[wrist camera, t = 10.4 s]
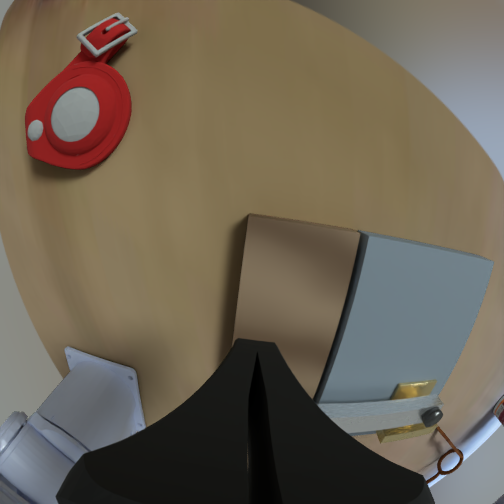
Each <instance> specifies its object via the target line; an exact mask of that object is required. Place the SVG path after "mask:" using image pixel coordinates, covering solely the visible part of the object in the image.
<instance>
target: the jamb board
mask: <svg viewBox="0 0 504 504" xmlns="http://www.w3.org/2000/svg"><path fill="white" fill-rule="evenodd" d="M359 238H360V233H359V232H357V231H355V230H353V229H348V228H342V227H336V226H330V225H324V224H318V223H312V222H306V221H299V220H293V219H286V218H279V217H272V216H265V215H258V214H251V213H250V214H249V217H248V225H247V232H246V240H245V247H244V255H243V263H242V270H241V278H240V286H239V294H238V302H237V310H236V318H235V326H234V334H233V342H232V346H233V344H234V342H235V340H236V339H238V338H242V339H250V340H258V341H266V342H275V344H276V345H277V346H278V348H279V350H280V352H281V354H282V356H283V358H284V359H285V361H286V363H287V365H288V366H289V368H290V369H291V371H292V372H293V374H294V375H295V377H296V378H297V380H298V381H299V383H300V384H301V386H302V387H303V388H304V390H305V391H306V392H307V393H308V395H309V396H310V397H311V398H312V400H313V397H314V395H315V392H316V390H317V387H318V384H319V381H320V379H321V376H322V373H323V370H324V367H325V364H326V361H327V358H328V355H329V352H330V349H331V346H332V343H333V340H334V337H335V333H336V330H337V327H338V323H339V320H340V316H341V313H342V309H343V306H344V302H345V298H346V294H347V291H348V287H349V283H350V279H351V274H352V270H353V266H354V262H355V257H356V252H357V248H358V243H359Z"/></svg>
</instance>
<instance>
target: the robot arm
mask: <svg viewBox="0 0 504 504" xmlns="http://www.w3.org/2000/svg"><path fill="white" fill-rule="evenodd" d="M65 354H66V358H67V361H68V365H69V368H70V372H69V373H68V374H67V376H66V377H65V378H64V379H63V380H62V381H61V382H60V384H59V385H58V386H57V387H56V388H55V389H54V391H53V392H52V393H51V394H50V395H49V396H48V398H47V399H46V400H45V401H44V402H43V403H42V405H41V406H40V407H39V408H38V409H37V411H36V412H35V413H33V414H32V415H31V416H30V417H29V418H28V419H27V417H28V416H27V415H26V414H25V413H24V412H21V413H20V412H17V411H14V412H13V413H12V414H11V415H10V416H9V417H8V419H7V420H6V421H5V422H4V423H3V424H2V425H1V427H0V504H435V502H434V499H433V497H432V494H431V492H430V489H429V487H428V485H427V483H426V480H425V479H424V477H423V475H421V474H418V473H416V472H413V471H411V470H409V469H406V468H404V467H402V466H399V465H397V464H395V463H393V462H391V461H389V460H387V459H385V458H384V457H382V456H380V455H378V454H377V453H375V452H373V451H372V450H370V449H368V448H367V447H365V446H364V445H363V444H361V443H360V442H358V441H357V440H356V439H354V438H353V437H352V436H350V435H349V434H348V433H346V432H345V431H344V430H343V429H341V428H340V427H339V426H338V425H337V424H336V423H334V422H333V421H332V420H331V419H330V418H329V417H328V416H327V415H326V414H325V413H324V412H323V411H322V410H321V409H320V408H319V407H318V405H317V404H316V403H315V402H314V401H313V400H312V398H311V397H310V396H309V395H308V393H307V392H306V391H305V390H304V388H303V387H302V386H301V384H300V383H299V381H298V380H297V378H296V377H295V375H294V374H293V372H292V371H291V369H290V368H289V366H288V365H287V363H286V361H285V359H284V358H283V356H282V354H281V352H280V350H279V348H278V346H277V345H276V344H275V342H266V341H258V340H250V339H242V338H238V339H236V340H235V342H234V344H233V346H232V348H231V350H230V352H229V353H228V355H227V356H226V358H225V359H224V361H223V362H222V363H221V365H220V366H219V367H218V368H217V370H216V371H215V372H214V373H213V375H212V376H211V377H210V378H209V379H208V380H207V381H206V382H205V383H204V384H203V385H202V386H201V387H200V388H199V389H198V390H197V391H196V392H195V393H194V394H193V395H192V396H191V397H190V398H189V399H187V400H186V401H185V402H184V403H183V404H181V405H180V406H179V407H177V408H176V409H175V410H173V411H172V412H170V413H169V414H168V415H166V416H165V417H163V418H162V419H160V420H159V421H157V422H156V423H154V424H152V425H150V426H149V427H147V428H146V425H145V420H144V415H143V410H142V405H141V399H140V393H139V387H138V381H137V374H136V371H135V370H134V369H133V368H130V367H127V366H124V365H120V364H117V363H114V362H111V361H107V360H104V359H101V358H98V357H96V356H93V355H90V354H87V353H84V352H82V351H79V350H76V349H74V348H71V347H66V348H65ZM26 419H27V420H26ZM136 431H139V432H137V433H136ZM493 504H504V494H503V495H502V496H501V497H500V498H499V499H498V500H497V501H496V502H495V503H493Z"/></svg>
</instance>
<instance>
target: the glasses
mask: <svg viewBox="0 0 504 504" xmlns="http://www.w3.org/2000/svg"><path fill="white" fill-rule="evenodd" d="M437 430H438V431H439V432H440V433H441V435H442V436H443V437H444V438H445V439H446V441H447V442H448V443H449V445H450V446H451V447H452V448H453V449H451V450H449V451H448V452H446V453H445V454H444V455H442V456H441V458H440V459H439V461H438V463H437V468H438V473H437V474H436V475H435V476H433V477H432V478H430V479H428V480H427V481H426V483H427V484H428V483H430V482H431V481H433V480H434V479H436V478H437V477H438V476H439V474H441V475H447V474H450V473H452V472H454V471H455V470H456V469H458V467H459V466H460V465H461V463H462V462H463V453H462V452H461V451H460V450H459V449H457V448H456V447H455V446H454V445H453V443H452V442H451V441H450V439H449V438H448V437H447V436H446V435H445V433H444V432H443V431H442V430H441V429H440V427H439V426H438V427H437ZM452 452H456V453H457V454H458V455H459V457H460V460H459V463H458V464H457V465H456V466H455V467H454V468H453V469H451V470H449V471H442V469H441V462H442V460H443V459H444V458H445V457H446V456H447V455H448V454H450V453H452Z"/></svg>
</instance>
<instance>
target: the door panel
mask: <svg viewBox="0 0 504 504" xmlns="http://www.w3.org/2000/svg"><path fill="white" fill-rule="evenodd" d="M358 232H359V233H360V238H359V243H358V248H357V252H356V257H355V262H354V266H353V270H352V274H351V279H350V283H349V287H348V291H347V294H346V298H345V302H344V306H343V309H342V313H341V316H340V320H339V323H338V327H337V330H336V333H335V337H334V340H333V343H332V346H331V349H330V352H329V355H328V358H327V361H326V364H325V367H324V370H323V373H322V376H321V379H320V381H319V384H318V387H317V390H316V392H315V395H314V397H313V401H314V402H315V403H316V404H335V403H363V402H378V401H389V400H390V399H391V397H392V395H393V393H394V391H395V389H396V388H397V386H398V384H399V383H407V382H418V381H426V380H434V379H436V380H437V383H436V384H435V386H434V388H433V390H432V391H431V393H430V395H433V394H437V395H439V393H440V392H441V390H442V388H443V387H444V385H445V383H446V381H447V380H448V378H449V376H450V374H451V372H452V370H453V368H454V366H455V365H456V363H457V361H458V359H459V357H460V354H461V352H462V350H463V348H464V346H465V344H466V342H467V339H468V337H469V335H470V332H471V330H472V328H473V325H474V323H475V320H476V317H477V315H478V312H479V309H480V307H481V304H482V301H483V298H484V295H485V292H486V289H487V286H488V282H489V279H490V275H491V272H492V268H493V264H494V262H493V261H491V260H489V259H487V258H484V257H482V256H479V255H475V254H471V253H467V252H463V251H458V250H454V249H449V248H445V247H440V246H436V245H431V244H426V243H421V242H417V241H412V240H407V239H402V238H397V237H392V236H386V235H381V234H376V233H370V232H365V231H359V230H358ZM374 433H376V431H367V432H357V433H348V434H349V435H350V436H355V435H365V434H374Z"/></svg>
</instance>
